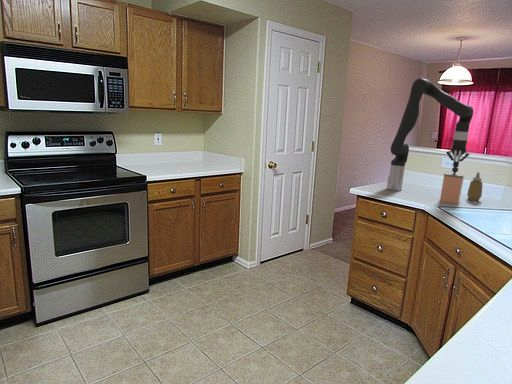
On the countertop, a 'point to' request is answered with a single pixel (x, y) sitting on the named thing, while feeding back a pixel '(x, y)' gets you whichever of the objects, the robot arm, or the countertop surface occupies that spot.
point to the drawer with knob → (454, 173)
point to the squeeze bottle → (475, 188)
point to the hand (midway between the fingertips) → (455, 167)
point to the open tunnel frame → (451, 189)
